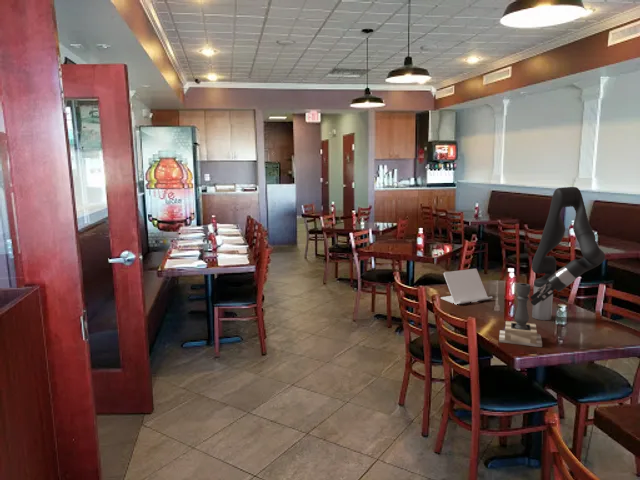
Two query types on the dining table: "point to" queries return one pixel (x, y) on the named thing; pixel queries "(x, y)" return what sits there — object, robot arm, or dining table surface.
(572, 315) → the dining table surface
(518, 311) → the candle holder
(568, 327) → the dining table surface
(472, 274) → the grey laptop
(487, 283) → the dining table surface
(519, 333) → the socket
